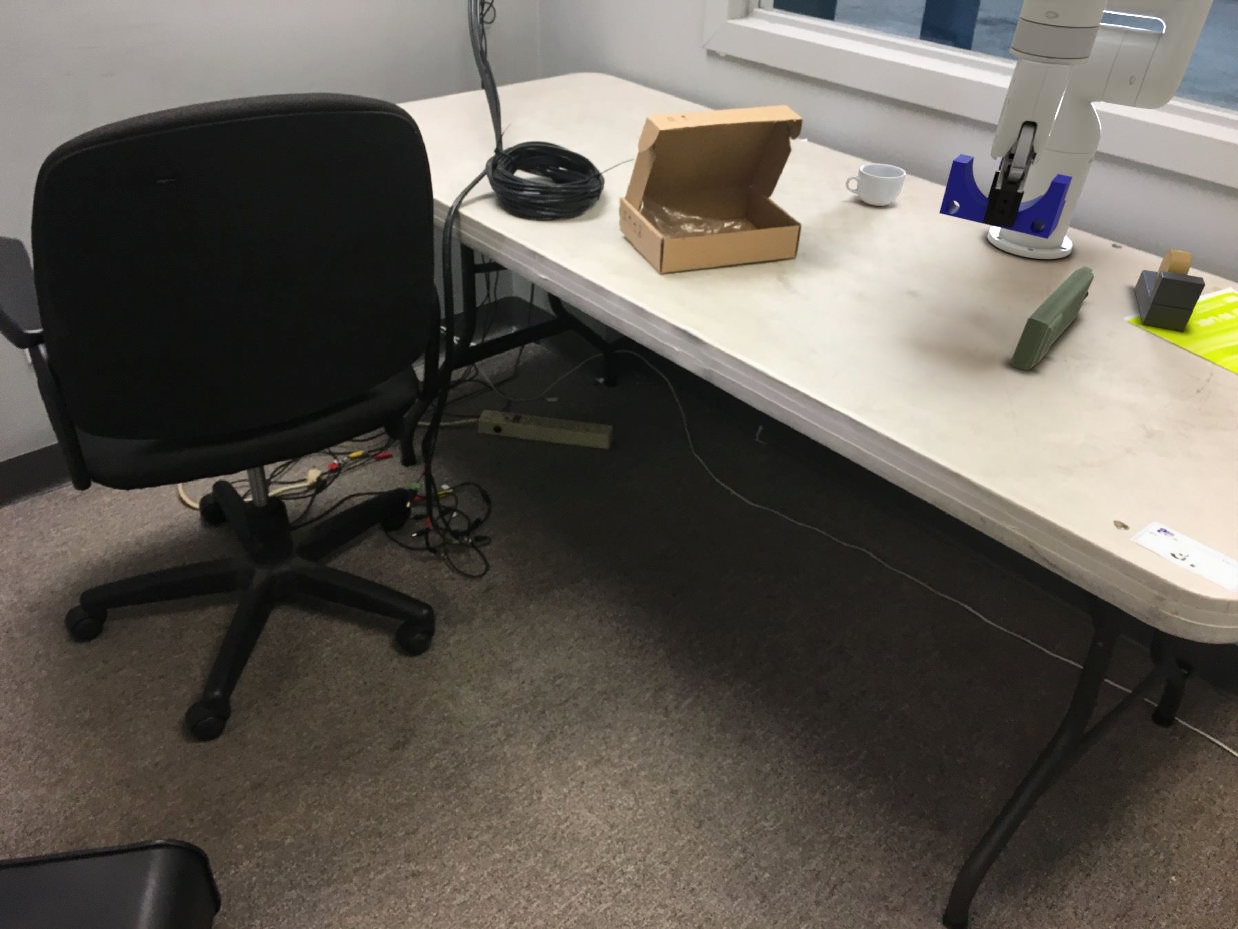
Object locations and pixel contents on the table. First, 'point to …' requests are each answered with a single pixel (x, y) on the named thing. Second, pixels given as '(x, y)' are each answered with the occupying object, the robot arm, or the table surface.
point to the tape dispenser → (1169, 292)
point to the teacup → (878, 183)
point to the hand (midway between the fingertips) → (999, 214)
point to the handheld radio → (1052, 319)
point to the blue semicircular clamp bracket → (962, 188)
